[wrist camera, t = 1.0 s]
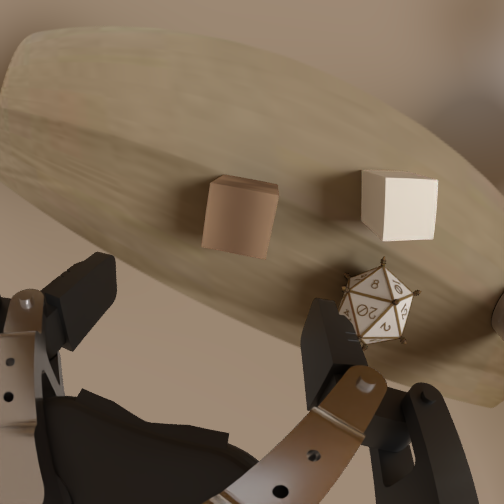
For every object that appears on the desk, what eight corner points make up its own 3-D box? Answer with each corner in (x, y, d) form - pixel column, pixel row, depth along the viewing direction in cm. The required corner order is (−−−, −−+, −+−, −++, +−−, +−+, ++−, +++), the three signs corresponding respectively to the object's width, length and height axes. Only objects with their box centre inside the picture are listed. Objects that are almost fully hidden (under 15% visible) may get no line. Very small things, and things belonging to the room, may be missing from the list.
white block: (406, 171, 23) (438, 180, 18) (404, 219, 25) (433, 239, 20) (361, 169, 24) (385, 177, 18) (360, 220, 26) (382, 241, 20)
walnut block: (277, 184, 25) (279, 195, 19) (266, 235, 27) (265, 259, 21) (224, 174, 25) (210, 182, 19) (216, 225, 27) (201, 246, 21)
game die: (343, 283, 32) (302, 344, 26) (364, 228, 26) (323, 290, 20) (405, 316, 28) (378, 385, 22) (439, 266, 23) (422, 343, 17)
